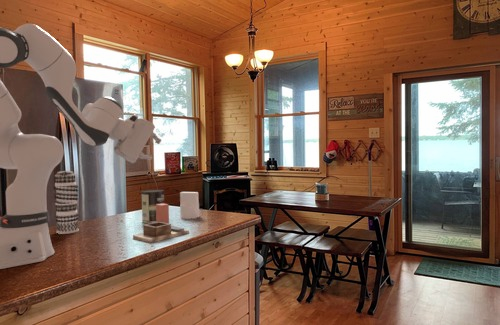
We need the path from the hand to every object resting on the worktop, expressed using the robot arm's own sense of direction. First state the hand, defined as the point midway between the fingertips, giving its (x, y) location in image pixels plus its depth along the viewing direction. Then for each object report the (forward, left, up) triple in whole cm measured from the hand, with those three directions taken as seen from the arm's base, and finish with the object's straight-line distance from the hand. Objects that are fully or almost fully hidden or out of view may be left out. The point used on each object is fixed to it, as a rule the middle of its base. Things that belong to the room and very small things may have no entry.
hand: (156, 150), depth 147 cm
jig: (-2, -5, -33) cm, 33 cm away
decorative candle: (-20, +34, -33) cm, 52 cm away
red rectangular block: (+7, +6, -33) cm, 34 cm away
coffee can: (+14, +22, -33) cm, 42 cm away
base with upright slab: (+30, +15, -33) cm, 47 cm away
